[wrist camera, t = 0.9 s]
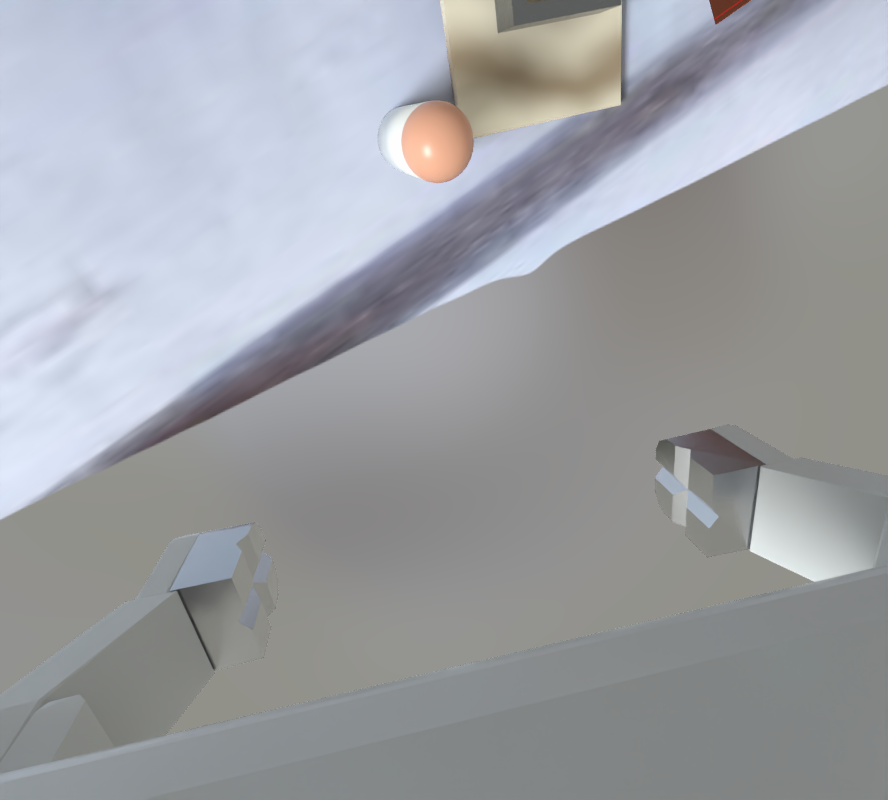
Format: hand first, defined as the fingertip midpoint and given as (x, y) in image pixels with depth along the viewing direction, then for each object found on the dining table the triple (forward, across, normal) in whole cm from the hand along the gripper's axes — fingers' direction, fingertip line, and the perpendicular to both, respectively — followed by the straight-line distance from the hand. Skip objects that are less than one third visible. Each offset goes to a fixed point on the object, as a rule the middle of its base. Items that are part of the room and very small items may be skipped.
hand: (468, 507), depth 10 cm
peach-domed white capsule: (+41, -4, -11) cm, 43 cm away
